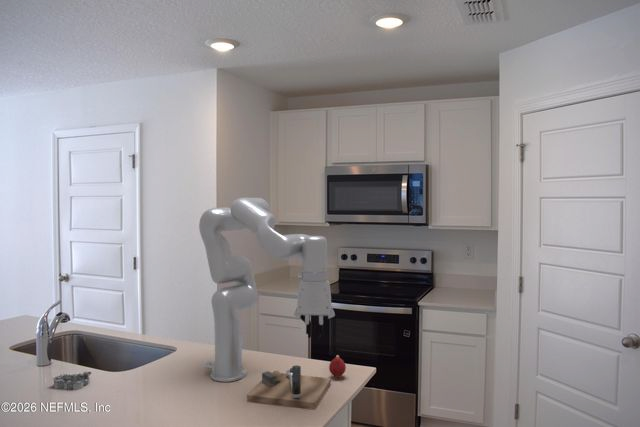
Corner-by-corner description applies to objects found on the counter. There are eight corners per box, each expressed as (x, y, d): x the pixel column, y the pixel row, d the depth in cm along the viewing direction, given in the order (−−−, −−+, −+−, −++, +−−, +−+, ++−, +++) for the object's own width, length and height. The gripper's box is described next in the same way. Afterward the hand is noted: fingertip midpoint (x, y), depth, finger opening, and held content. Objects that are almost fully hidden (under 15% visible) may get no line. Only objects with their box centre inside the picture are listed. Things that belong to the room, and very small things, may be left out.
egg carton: (93, 383, 160) (93, 371, 159) (77, 392, 152) (77, 379, 152) (66, 380, 162) (66, 368, 162) (49, 389, 154) (49, 376, 154)
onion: (344, 381, 161) (344, 358, 160) (327, 380, 162) (327, 357, 162) (346, 375, 166) (346, 353, 166) (330, 374, 168) (330, 352, 167)
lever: (285, 373, 162) (285, 347, 162) (298, 373, 162) (298, 347, 162) (289, 398, 141) (289, 368, 141) (303, 398, 142) (303, 368, 142)
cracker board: (247, 401, 145) (247, 383, 145) (270, 377, 164) (270, 361, 164) (315, 409, 139) (315, 391, 139) (330, 384, 159) (330, 367, 158)
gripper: (286, 278, 138) (286, 339, 139) (340, 279, 137) (340, 341, 138) (290, 274, 146) (290, 332, 146) (341, 275, 145) (341, 333, 145)
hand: (314, 336), depth 142 cm, fingers closed
